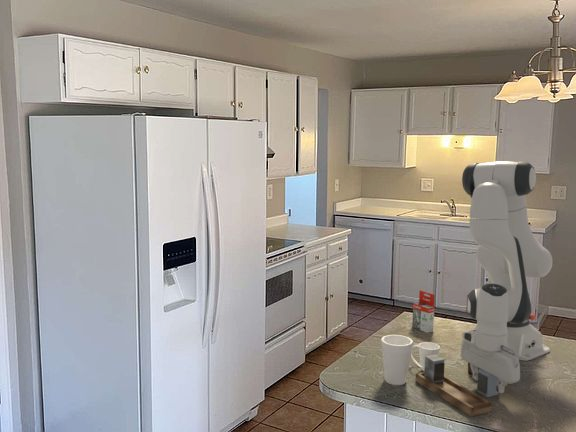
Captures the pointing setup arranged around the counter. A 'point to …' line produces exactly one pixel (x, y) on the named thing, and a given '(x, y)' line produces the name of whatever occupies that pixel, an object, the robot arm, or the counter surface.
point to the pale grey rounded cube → (487, 383)
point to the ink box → (424, 312)
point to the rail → (450, 388)
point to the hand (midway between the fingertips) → (487, 385)
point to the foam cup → (396, 358)
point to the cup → (425, 352)
